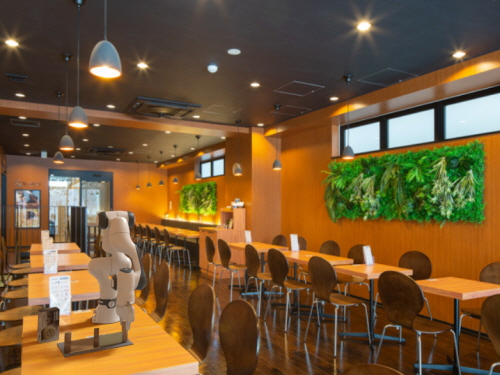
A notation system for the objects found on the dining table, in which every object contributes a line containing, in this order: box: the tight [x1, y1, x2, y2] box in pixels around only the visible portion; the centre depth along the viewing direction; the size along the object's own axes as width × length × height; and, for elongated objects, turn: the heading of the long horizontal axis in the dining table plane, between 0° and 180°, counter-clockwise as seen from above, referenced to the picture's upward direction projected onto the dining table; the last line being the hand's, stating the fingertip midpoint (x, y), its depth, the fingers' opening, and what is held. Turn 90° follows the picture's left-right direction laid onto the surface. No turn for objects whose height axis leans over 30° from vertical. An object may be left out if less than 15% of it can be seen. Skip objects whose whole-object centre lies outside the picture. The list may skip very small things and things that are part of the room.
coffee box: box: [36, 306, 61, 344], centre depth 203 cm, size 9×6×16 cm
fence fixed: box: [63, 327, 100, 354], centre depth 187 cm, size 3×16×9 cm, turn 125°
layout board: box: [56, 335, 134, 358], centre depth 196 cm, size 22×32×1 cm
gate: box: [99, 320, 129, 346], centre depth 196 cm, size 3×14×10 cm, turn 125°
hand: (124, 327), depth 199 cm, fingers open, 8 cm apart
